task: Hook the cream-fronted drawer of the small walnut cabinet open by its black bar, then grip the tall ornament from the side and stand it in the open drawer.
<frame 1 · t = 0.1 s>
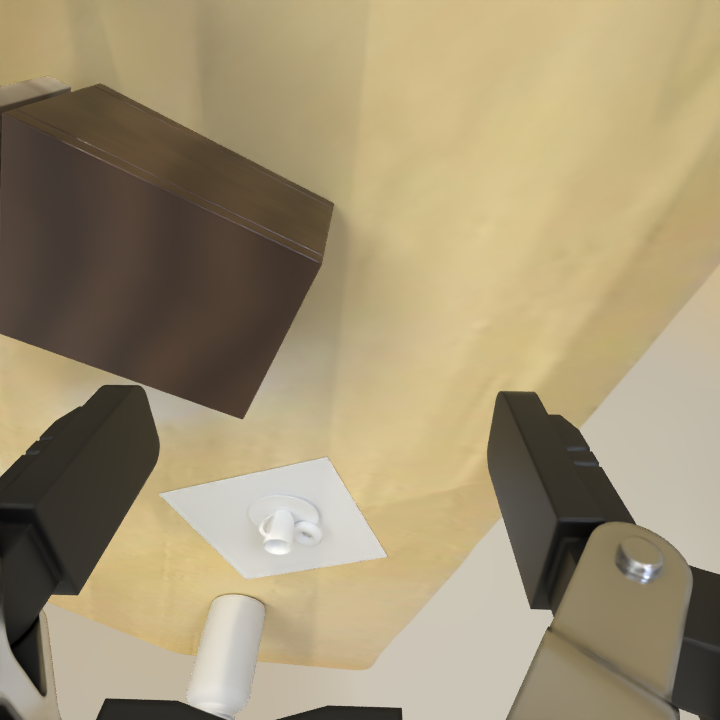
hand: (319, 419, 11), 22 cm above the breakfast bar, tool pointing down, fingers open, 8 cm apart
pill bottle: (239, 603, 66), on the breakfast bar
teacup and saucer: (280, 525, 54), on the breakfast bar
cabinet: (198, 235, 31), on the breakfast bar
drawer: (88, 225, 27), point 4 cm above the breakfast bar, slide at 1.0 cm
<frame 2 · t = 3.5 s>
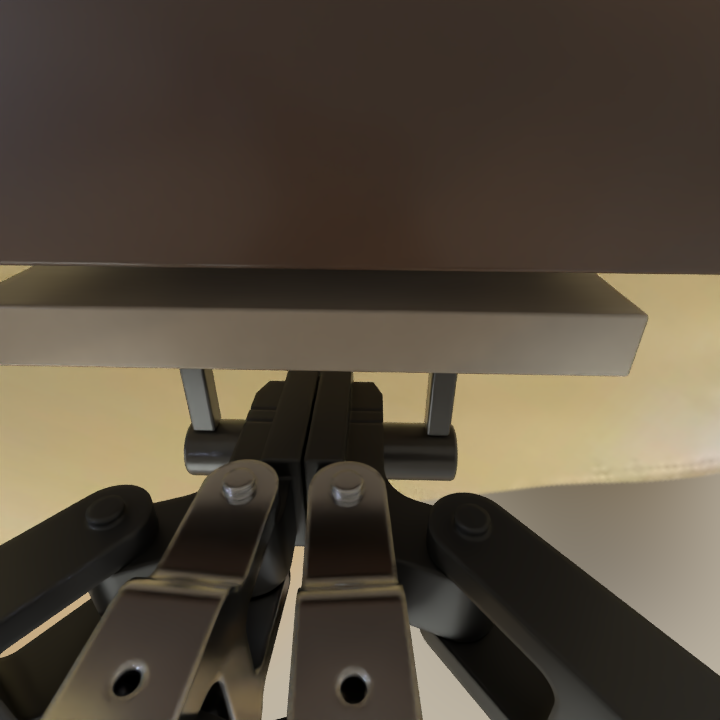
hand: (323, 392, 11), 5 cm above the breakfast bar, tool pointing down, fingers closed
drawer: (311, 86, 9), point 4 cm above the breakfast bar, slide at 1.0 cm, touching gripper
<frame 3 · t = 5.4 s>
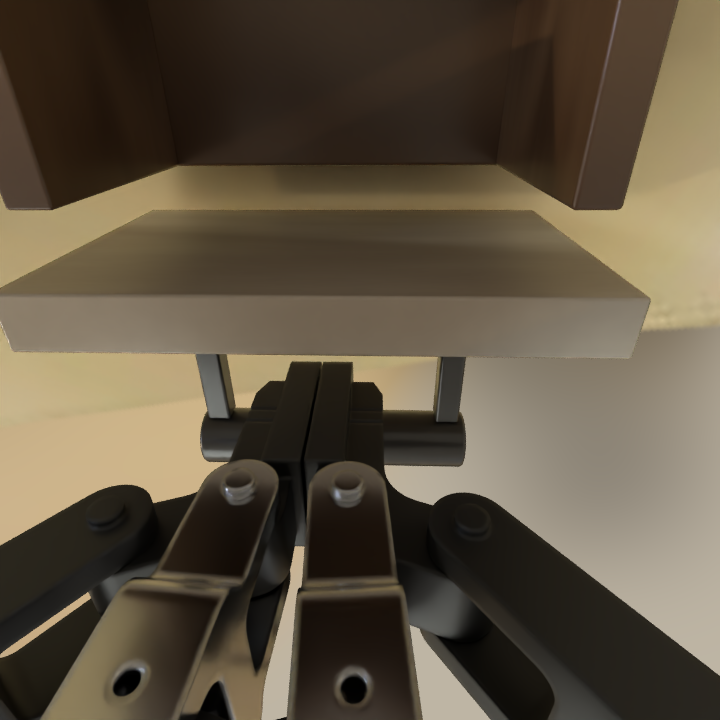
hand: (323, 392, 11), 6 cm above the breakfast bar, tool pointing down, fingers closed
drawer: (322, 82, 9), point 4 cm above the breakfast bar, slide at 8.0 cm
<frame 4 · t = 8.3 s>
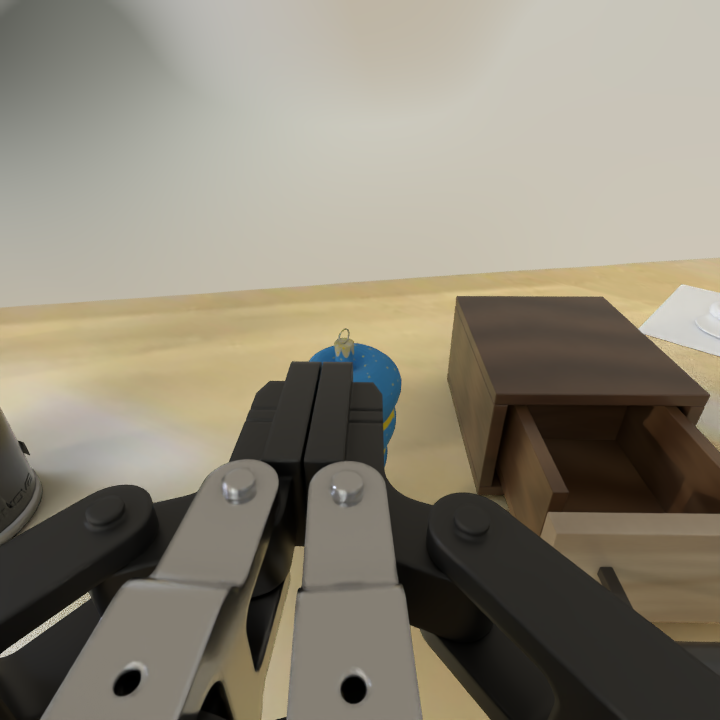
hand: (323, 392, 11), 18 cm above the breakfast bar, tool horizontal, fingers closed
cabinet: (536, 428, 38), on the breakfast bar
ornament: (352, 540, 29), on the breakfast bar
drawer: (619, 508, 25), point 4 cm above the breakfast bar, slide at 8.0 cm
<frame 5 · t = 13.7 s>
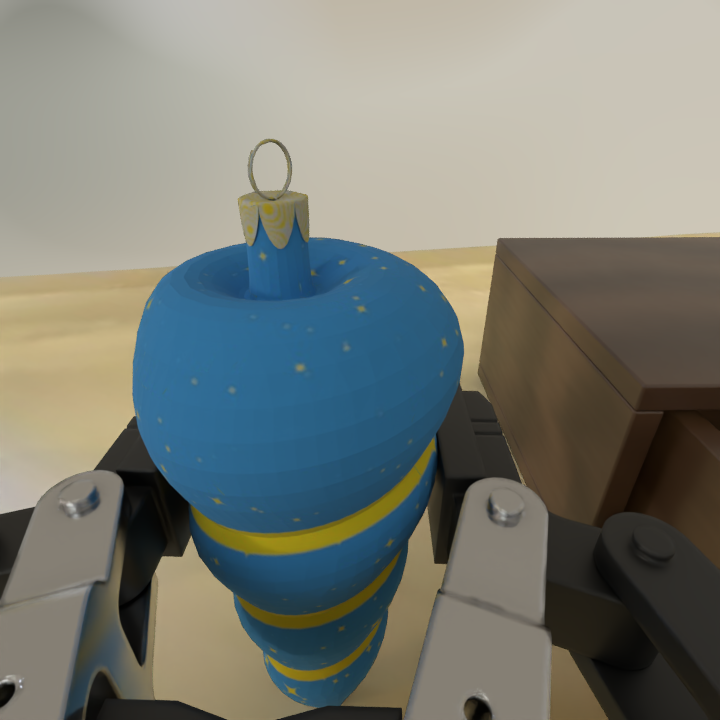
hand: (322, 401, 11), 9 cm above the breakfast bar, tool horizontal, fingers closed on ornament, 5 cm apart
cabinet: (637, 450, 23), on the breakfast bar
ornament: (327, 707, 14), on the breakfast bar, touching gripper
when the fingers open (11 cm above the breakfast bar, at t = 20.8 s): ornament moves 3 cm, resting on drawer.
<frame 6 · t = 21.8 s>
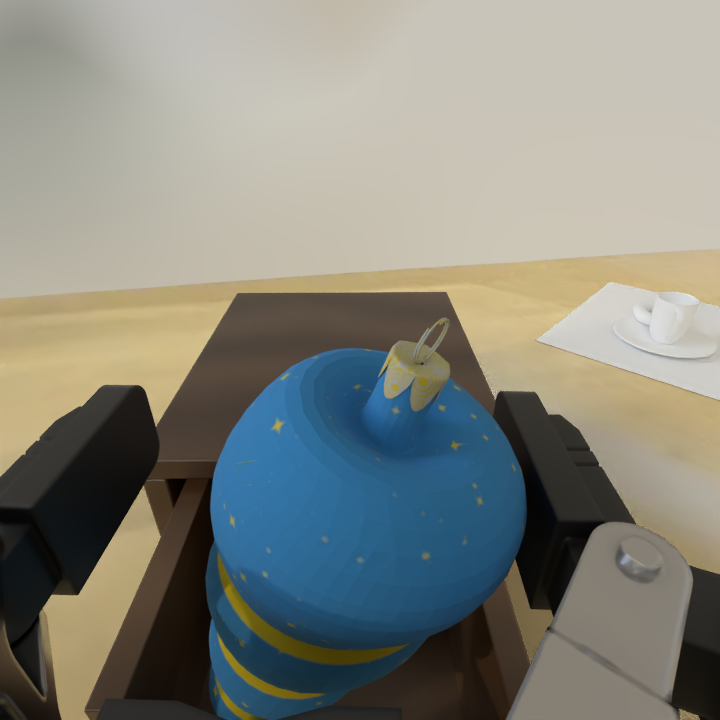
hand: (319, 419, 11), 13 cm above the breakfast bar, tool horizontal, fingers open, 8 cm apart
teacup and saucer: (688, 339, 41), on the breakfast bar
cabinet: (341, 486, 26), on the breakfast bar
drawer: (325, 688, 13), point 4 cm above the breakfast bar, slide at 7.9 cm, touching ornament
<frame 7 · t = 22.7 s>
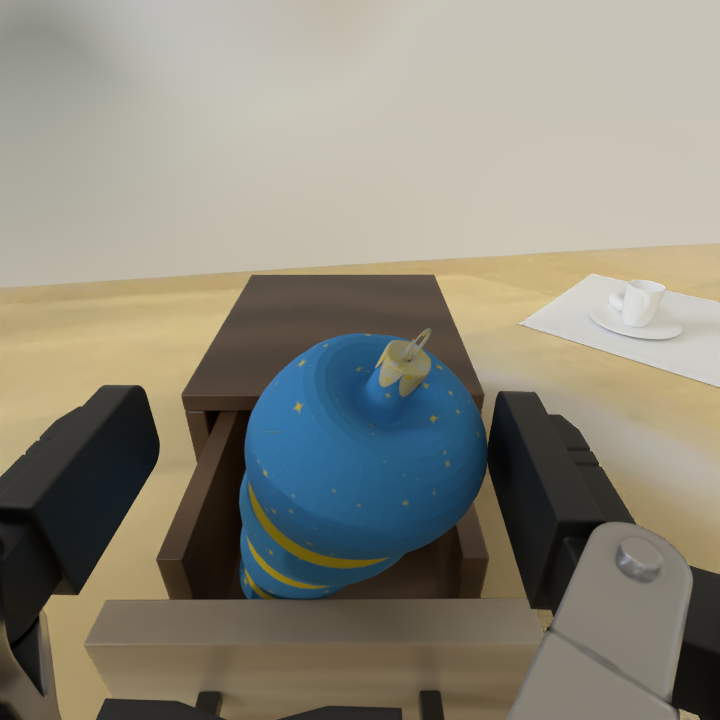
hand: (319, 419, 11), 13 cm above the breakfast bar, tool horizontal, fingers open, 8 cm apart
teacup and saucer: (658, 323, 46), on the breakfast bar
cabinet: (342, 441, 30), on the breakfast bar
ornament: (263, 603, 18), point 2 cm above the breakfast bar, touching drawer, gripper
drawer: (329, 571, 17), point 4 cm above the breakfast bar, slide at 8.3 cm, touching ornament
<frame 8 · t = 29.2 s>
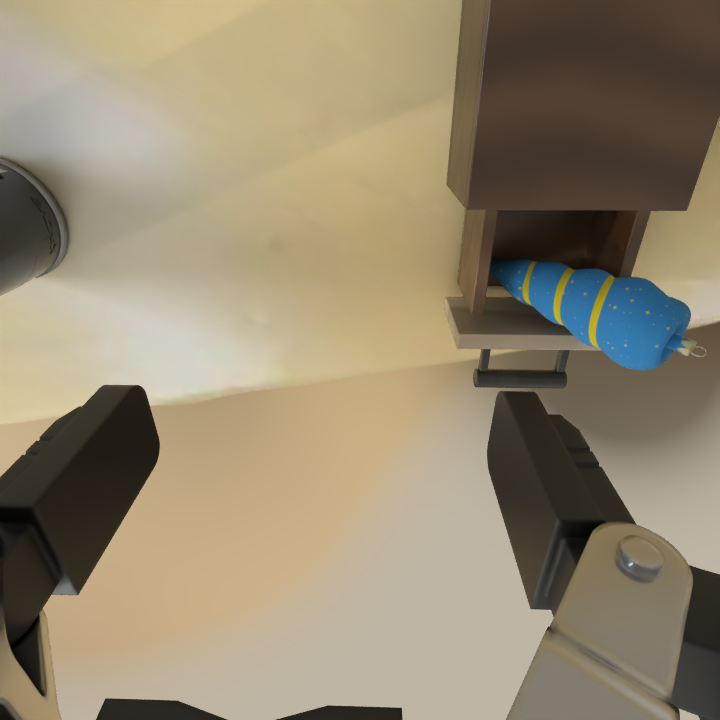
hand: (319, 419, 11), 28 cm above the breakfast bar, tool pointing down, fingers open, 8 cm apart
cabinet: (552, 68, 30), on the breakfast bar
ornament: (485, 265, 35), point 2 cm above the breakfast bar, touching drawer
drawer: (535, 273, 33), point 4 cm above the breakfast bar, slide at 8.6 cm, touching ornament
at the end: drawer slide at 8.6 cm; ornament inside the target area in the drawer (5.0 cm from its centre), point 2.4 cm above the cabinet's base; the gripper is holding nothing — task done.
